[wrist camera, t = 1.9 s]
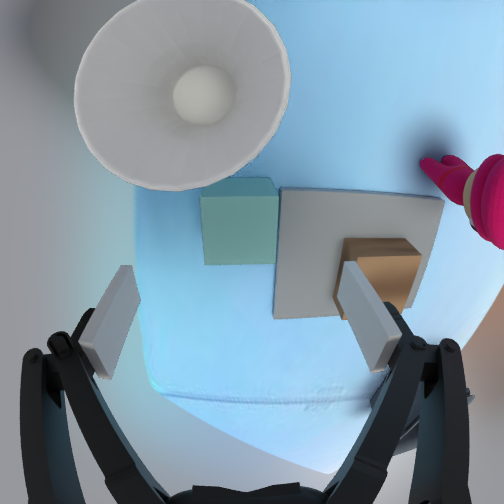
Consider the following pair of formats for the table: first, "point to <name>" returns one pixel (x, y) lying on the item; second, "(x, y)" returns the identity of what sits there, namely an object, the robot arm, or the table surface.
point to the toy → (473, 191)
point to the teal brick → (239, 221)
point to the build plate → (341, 241)
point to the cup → (181, 91)
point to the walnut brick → (382, 267)
